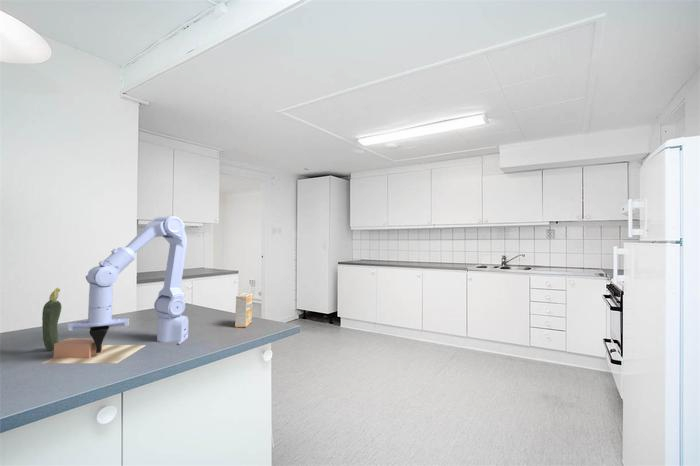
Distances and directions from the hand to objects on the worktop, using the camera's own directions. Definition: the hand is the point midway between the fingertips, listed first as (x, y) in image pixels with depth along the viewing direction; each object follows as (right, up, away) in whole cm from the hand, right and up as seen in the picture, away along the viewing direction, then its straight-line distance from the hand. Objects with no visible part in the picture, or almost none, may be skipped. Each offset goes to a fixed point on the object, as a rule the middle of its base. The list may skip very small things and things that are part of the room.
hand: (98, 351), depth 100 cm
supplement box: (+30, -4, +42) cm, 52 cm away
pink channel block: (-6, -1, +1) cm, 6 cm away
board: (-2, -2, +2) cm, 3 cm away
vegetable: (-18, -2, +4) cm, 18 cm away
